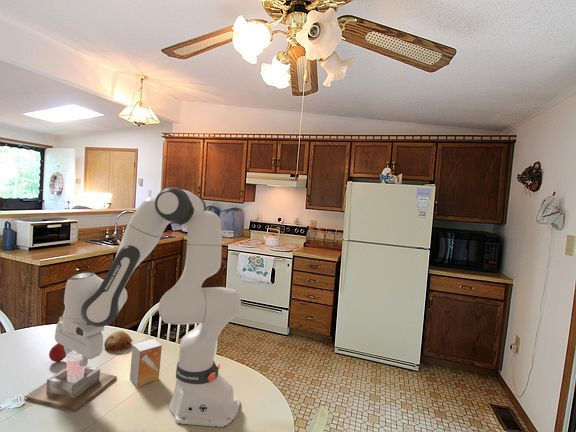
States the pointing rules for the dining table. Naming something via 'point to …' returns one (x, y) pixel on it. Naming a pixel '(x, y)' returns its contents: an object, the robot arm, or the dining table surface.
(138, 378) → the small box
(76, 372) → the beverage cup
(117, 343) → the bread roll
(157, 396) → the dining table surface
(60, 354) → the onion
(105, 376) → the walnut board
